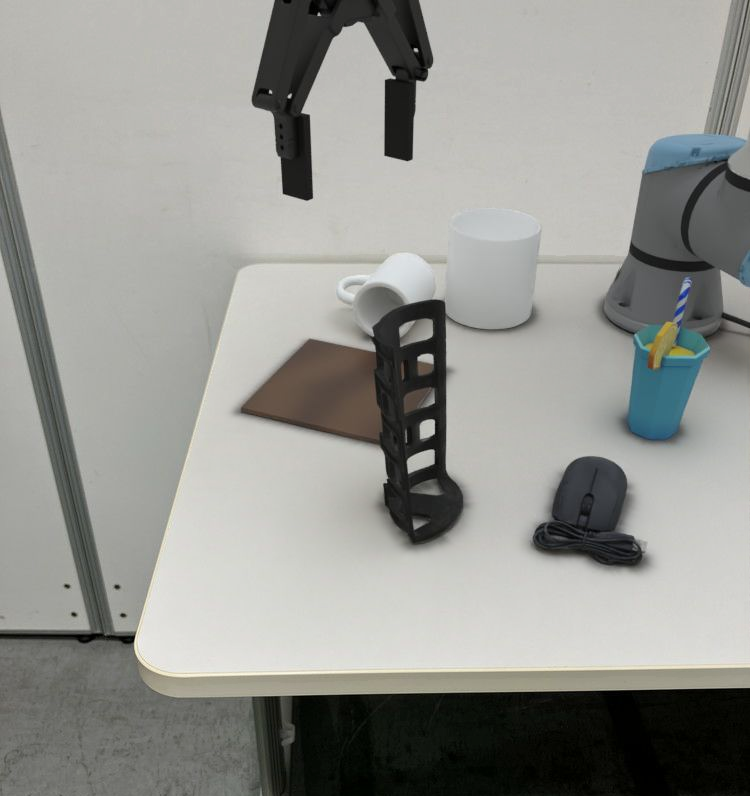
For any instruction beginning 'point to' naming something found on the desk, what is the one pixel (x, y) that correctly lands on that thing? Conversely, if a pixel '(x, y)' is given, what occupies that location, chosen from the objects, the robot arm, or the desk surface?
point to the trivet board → (329, 391)
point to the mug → (388, 289)
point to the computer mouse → (591, 512)
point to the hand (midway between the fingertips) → (350, 176)
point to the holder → (414, 421)
